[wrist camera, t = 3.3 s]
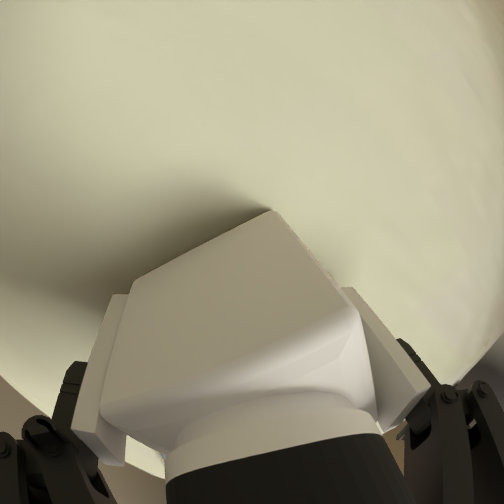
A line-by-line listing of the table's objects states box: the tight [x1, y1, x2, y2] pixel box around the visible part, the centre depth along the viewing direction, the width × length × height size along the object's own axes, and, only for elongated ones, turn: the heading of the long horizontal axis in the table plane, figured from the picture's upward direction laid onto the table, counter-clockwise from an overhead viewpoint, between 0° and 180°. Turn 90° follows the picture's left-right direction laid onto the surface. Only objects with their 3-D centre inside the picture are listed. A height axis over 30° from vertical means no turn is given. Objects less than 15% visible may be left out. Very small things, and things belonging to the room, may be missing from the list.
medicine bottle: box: [99, 210, 417, 504], centre depth 8 cm, size 7×7×12 cm
